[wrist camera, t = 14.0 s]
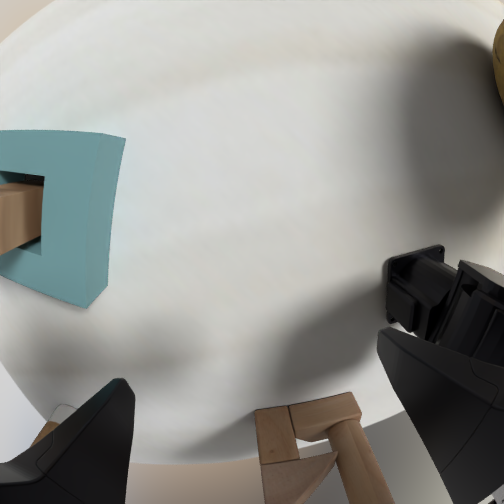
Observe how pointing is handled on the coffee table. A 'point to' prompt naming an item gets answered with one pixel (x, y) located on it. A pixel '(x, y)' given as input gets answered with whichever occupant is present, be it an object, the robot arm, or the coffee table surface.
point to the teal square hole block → (64, 210)
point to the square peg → (20, 213)
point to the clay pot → (499, 59)
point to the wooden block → (317, 467)
